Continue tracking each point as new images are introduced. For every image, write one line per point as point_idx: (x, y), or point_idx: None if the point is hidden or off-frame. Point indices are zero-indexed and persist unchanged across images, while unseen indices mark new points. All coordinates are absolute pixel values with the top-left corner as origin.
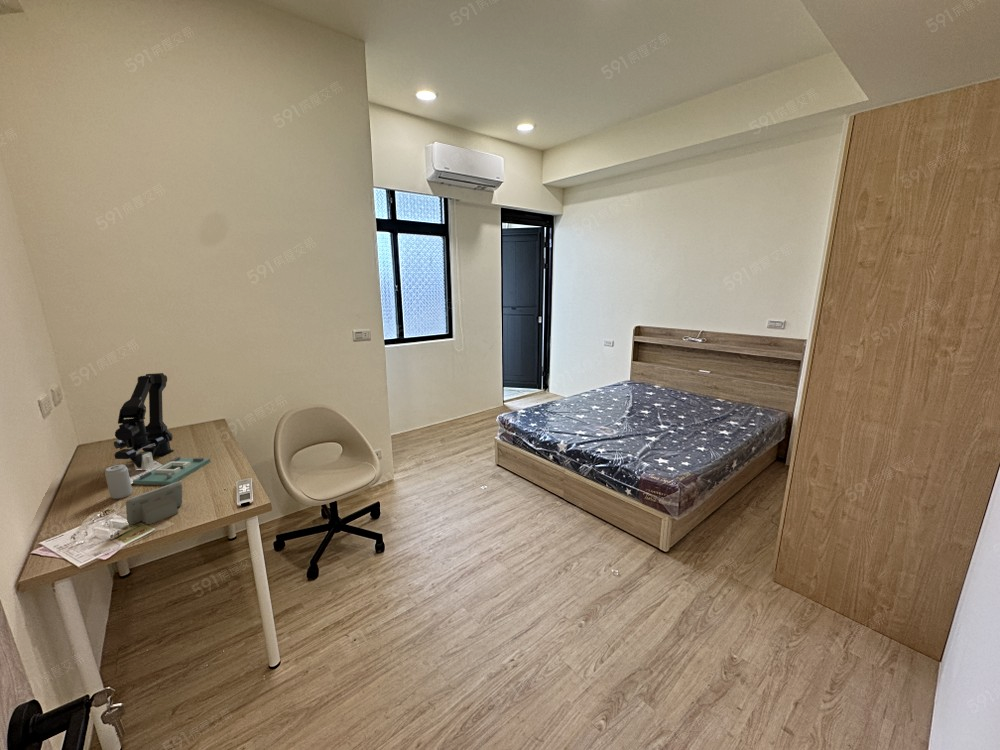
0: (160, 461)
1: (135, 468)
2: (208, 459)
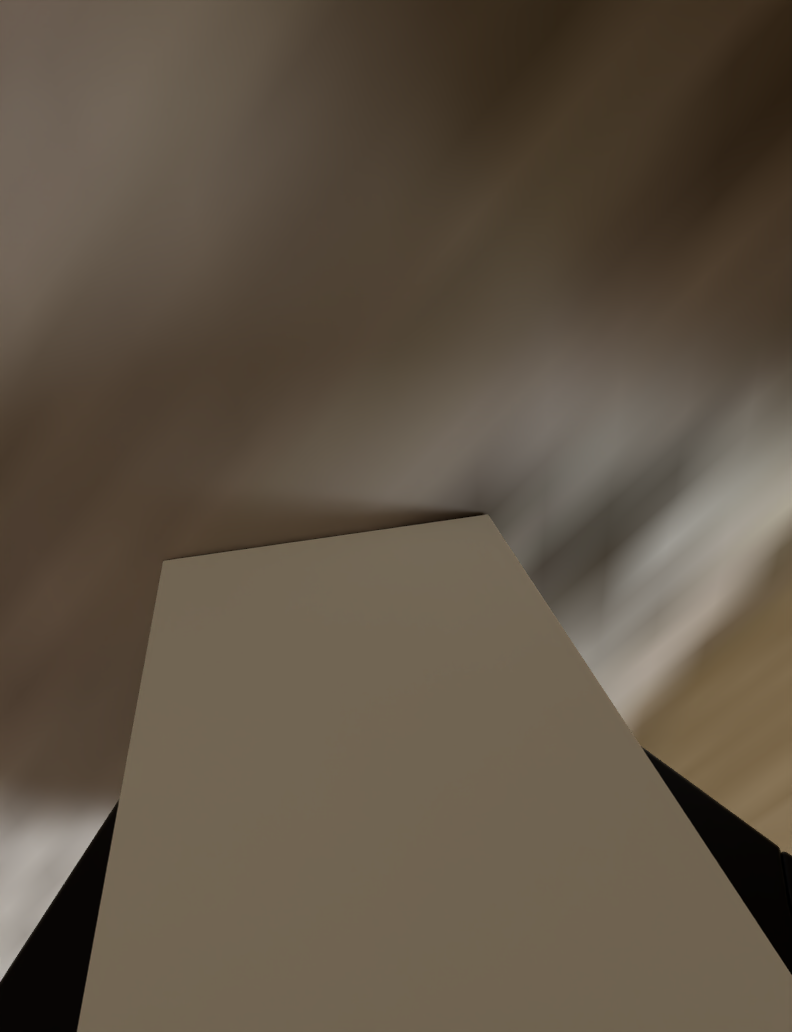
0: (758, 614)
1: (160, 615)
2: None
